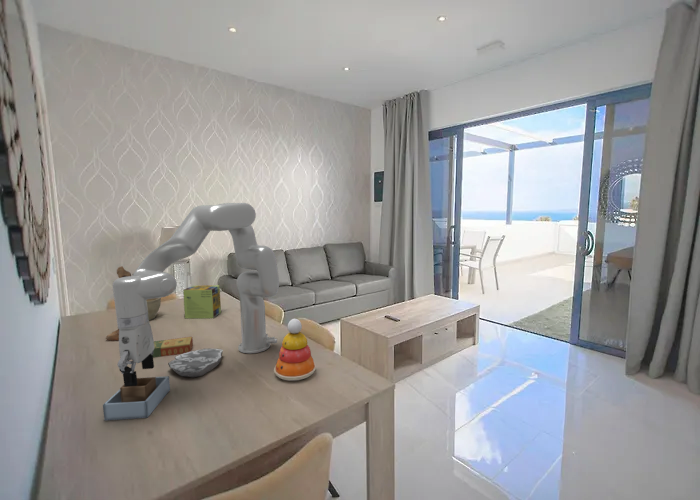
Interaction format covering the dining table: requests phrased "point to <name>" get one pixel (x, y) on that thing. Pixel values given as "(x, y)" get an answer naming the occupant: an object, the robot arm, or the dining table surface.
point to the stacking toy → (294, 355)
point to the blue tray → (136, 403)
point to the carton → (172, 346)
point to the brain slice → (196, 362)
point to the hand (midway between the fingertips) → (140, 376)
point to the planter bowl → (153, 307)
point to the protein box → (202, 302)
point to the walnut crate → (138, 390)
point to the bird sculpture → (115, 334)
